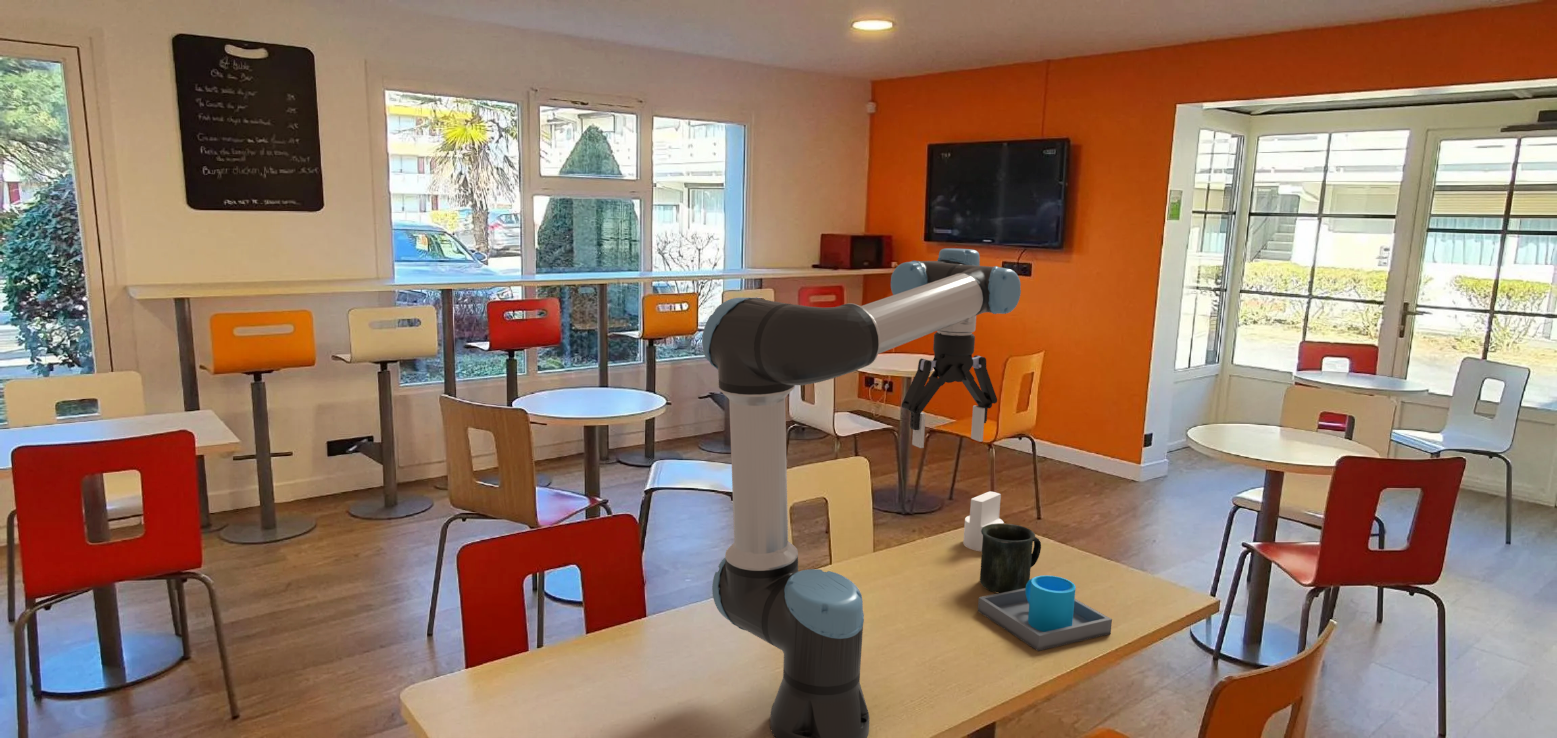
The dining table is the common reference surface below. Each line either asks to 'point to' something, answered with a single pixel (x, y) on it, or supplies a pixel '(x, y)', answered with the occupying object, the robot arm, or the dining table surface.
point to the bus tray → (1014, 618)
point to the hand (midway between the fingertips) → (947, 443)
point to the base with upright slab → (981, 518)
